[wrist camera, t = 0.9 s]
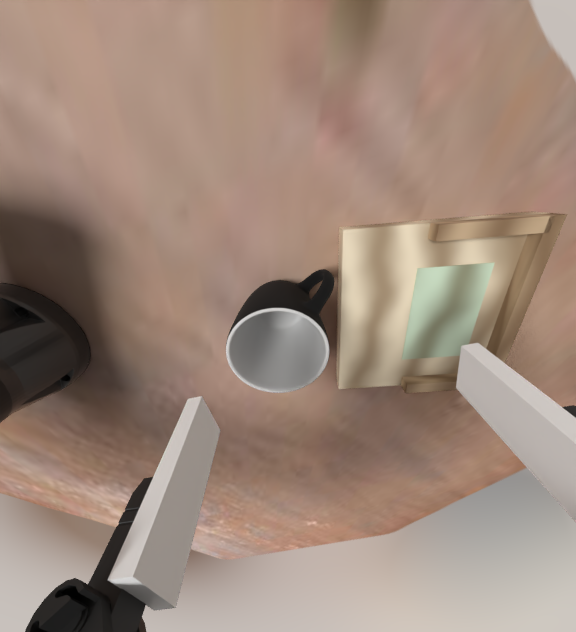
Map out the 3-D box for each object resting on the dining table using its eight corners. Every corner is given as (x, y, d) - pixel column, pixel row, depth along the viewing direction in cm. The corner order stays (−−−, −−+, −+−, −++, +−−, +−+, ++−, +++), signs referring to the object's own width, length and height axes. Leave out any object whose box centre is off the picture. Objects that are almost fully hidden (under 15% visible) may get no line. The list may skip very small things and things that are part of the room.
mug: (284, 348, 33) (283, 407, 24) (228, 309, 30) (204, 359, 21) (349, 283, 28) (380, 326, 19) (292, 231, 26) (297, 253, 17)
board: (336, 379, 35) (341, 397, 32) (339, 227, 26) (346, 232, 22) (475, 369, 35) (494, 387, 32) (532, 211, 25) (567, 214, 22)
